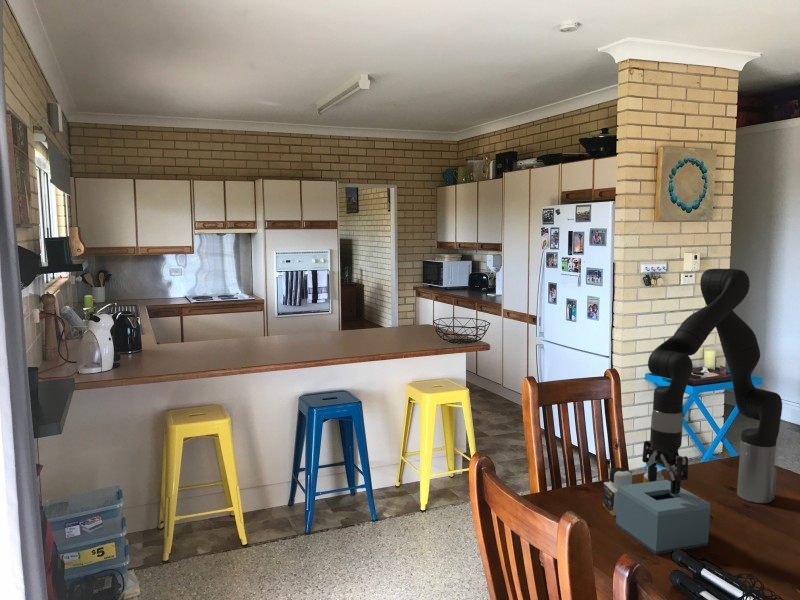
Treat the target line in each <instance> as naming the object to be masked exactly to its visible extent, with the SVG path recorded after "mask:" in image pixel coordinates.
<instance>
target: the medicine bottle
mask: <svg viewBox="0 0 800 600" xmlns="http://www.w3.org/2000/svg"><path fill="white" fill-rule="evenodd" d="M631 484H633V472H632V471H631V470H629V469H627V468H624V467H613V468H611V469H610V471H609V481H605V482H603V492H602V493H603V494H602V505H603V507H604V508H605V509H606V510H607V511H608V512H609V513H610V515H612V516H615V517H616V511H617V490H618V486H623V485H631Z"/></svg>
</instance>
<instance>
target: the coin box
mask: <svg viewBox="0 0 800 600" xmlns="http://www.w3.org/2000/svg"><path fill="white" fill-rule="evenodd" d="M670 489H671V480H668V479H664V480H661V481H654V482H646V483H643V482H640V483H632V484H631V485H623V486H618V490H617V511H616V516H615V526H616V527H617V528H618V529H620V530H621V531H623V532H624V533H625V534H626V535H628V536H629V537H631V538H632V539H633V540H635V541H636V542H637V543H639V544H640V545H642V546H643V547H644V548H646V549H647V550H648V551H650V552H651V553H653V554H654V555H661V554H667V553H671V552H672V551H673V550H674V549H683V550H684V551H685V550H690V549H697V548H702V547H707V546H708V545H709V535H710V533H709V532H710V519H711V518H710V517H711V505H712V504H711V503H710V502H709V501H706V500H704V499H703V498H701V497H699V496H697V495H695V494H694V493H693V492H691V491H688V490H686V489H684V488H682V487H681V486H680V492H679V493H678V494H672V493H670ZM683 550H682V551H683ZM672 553H673V552H672Z"/></svg>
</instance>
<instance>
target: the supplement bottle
mask: <svg viewBox="0 0 800 600" xmlns="http://www.w3.org/2000/svg"><path fill="white" fill-rule="evenodd" d="M656 467H657V480H656V481H661V480H665V477H664V475H663V474H662V468H660V467H658V466H656ZM646 482H650V481H649V480H648V467H647V466H646V472H645V473H644V474H643V482H642V483H646ZM652 482H654V481H652Z"/></svg>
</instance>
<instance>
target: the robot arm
mask: <svg viewBox="0 0 800 600" xmlns="http://www.w3.org/2000/svg"><path fill="white" fill-rule="evenodd" d="M701 274H702V275H701V277H700V283H699V284H700V285H699V286H700V291H701V295H702V298H703V299H704V302H705V304H706V306H704V307H703V308H699V310H697V311H695V312H693V313H691V314H690V315H689V316H688V317H686V319H685V320H683V321H682V323H681V324H680V325H679V327H678V328H677V329H676V331H675V332H674V334H673V335H672V336H671V337H669V338H668V339H666V340H665V341H663V342H662V343H661V344H659V345H658V346H657V347H656V348H655V349H654V350H652V352H651V354H650V355H649V357H648V361H647V368H648V370H649V372H650V373H651V374H652V375H653V376H656V377H662V378H664V379H665V378H666V379H670V380H671V381H670V383H669V385H661V386H657V387H655V389H654V390H653V399H652V400H653V403H652V411H651V417H650V418H651V419H650V438H649V440H645V441H643V448H642V460H641V461H642V462H643V463H645V464H646V468H647V467H648V480H649V481H650V482H652V481H656V480H657V467H658V465H661V466H663V468H665V470H666V472H668V473H669V475H670V478H671V479H670V482H671V489H670V493H672V494H678V493H679V492H680V487H681V481H686V480H688V478H689V458H688V456H686V455H685V456H681V455H680V453H679V449H680V448H681V447H682V441H683V439H682V438H683V425H684V419H683V407H684V406H683V404H684V401H683V400H684V395H685V393H686V389H687V386H688V383H689V381H690V378H691V376H692V373H693V367H694V366H693V365H694V364H693V361H692V359H691V357H690V356H693V355H695V354H697V352H698V351H699V349H700V348H701V346H702V345H703V344H704V343H705V341H706V340H707V338H708V337H709V336H710V334H711V333H712V331H713V330H714V329H716V331H717V334H718V338H719V342H720V346H721V349H722V352H723V355H724V358H725V361H726V363H727V367H728V370H729V374H730V379H731V382H732V387H733V394H734V398H735V404H736V407H737V410H738V412H739V413H740V414H741V415H742V416H744V417H745V418H748V419H753V420H755V421H756V420H757V421H759V423H758V424H759V425H758V427H753V428H750V427H749V428H746V429H743V430H742V431H741V433H740V446H739V448H740V450H739V463H738V474H737V475H738V476H737V477H738V478H737V490H736V494H737V496H738V497H739V498H740V499H742V500H744V501H747V502H752V503H757V504H768V503H772V501H773V500H775V498H776V497H775V496H776V484H777V468H776V467H775V463H776V452H777V451H776V449H777V440H778V436H779V433H780V427H781V418H782V412H783V400H782V397H781V396H780V394H779V393H778V392H774V391H771V390H766V389H761V388H757V387H755V385H754V384H753V383H754V382H753V380H752V374H753V372H754V370H755V368H756V366H757V365H758V363H759V361H760V360H761V349H760V346H759V342H758V339H757V336H756V334H755V333H754V331H753V329H752V328H751V326H749V324H747V323H746V322H745V321H744V320H743V319H742V318H741V317H740V316H739V315H738V314H737V313H736V312H735V311H734V310H735V309H736V307H738V306H739V305H740V304H741V303H742V302H743V301H744V300H745V298H746V297H747V295H748V293H749V291H750V286H751V284H750V278H749V275H748V274H747V272H746V271H744V270H742V269H739V268H709V269H706V270H704V271H703V272H702V273H701Z"/></svg>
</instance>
